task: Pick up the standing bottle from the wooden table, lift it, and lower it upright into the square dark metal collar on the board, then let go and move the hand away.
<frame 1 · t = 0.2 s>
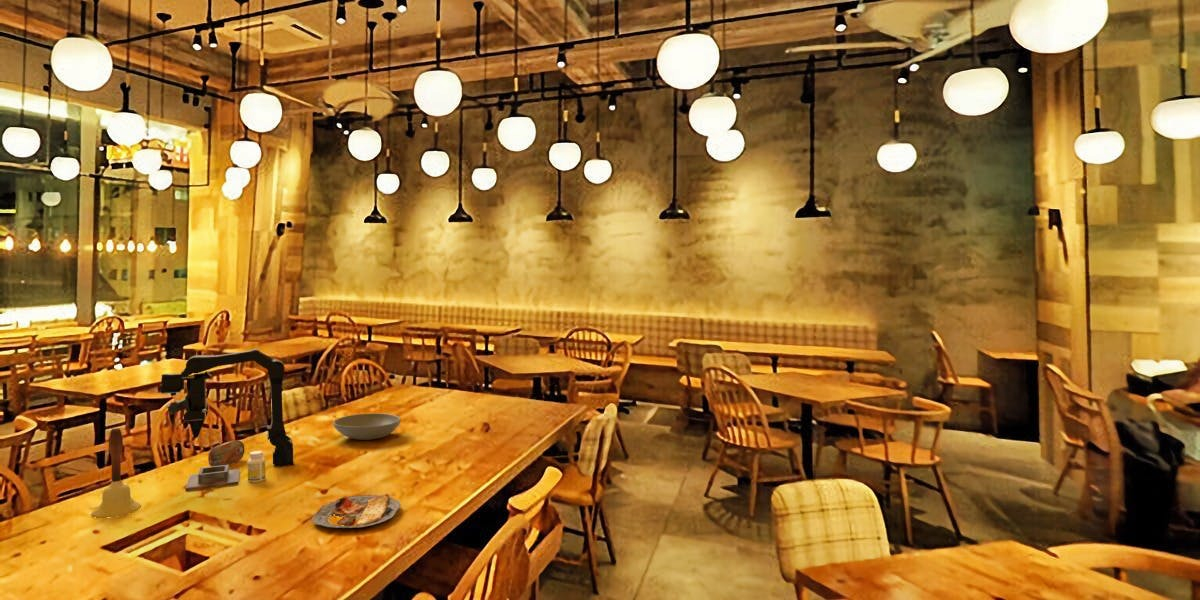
hand: (197, 434, 220), 14 cm above the table, tool pointing down, fingers open, 9 cm apart
collar socket board: (213, 481, 214), on the table
bowl: (367, 438, 273), on the table
supplement bottle: (256, 480, 216), on the table
handbell: (116, 511, 187), on the table
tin: (226, 465, 232), on the table
food plate: (358, 517, 186), on the table
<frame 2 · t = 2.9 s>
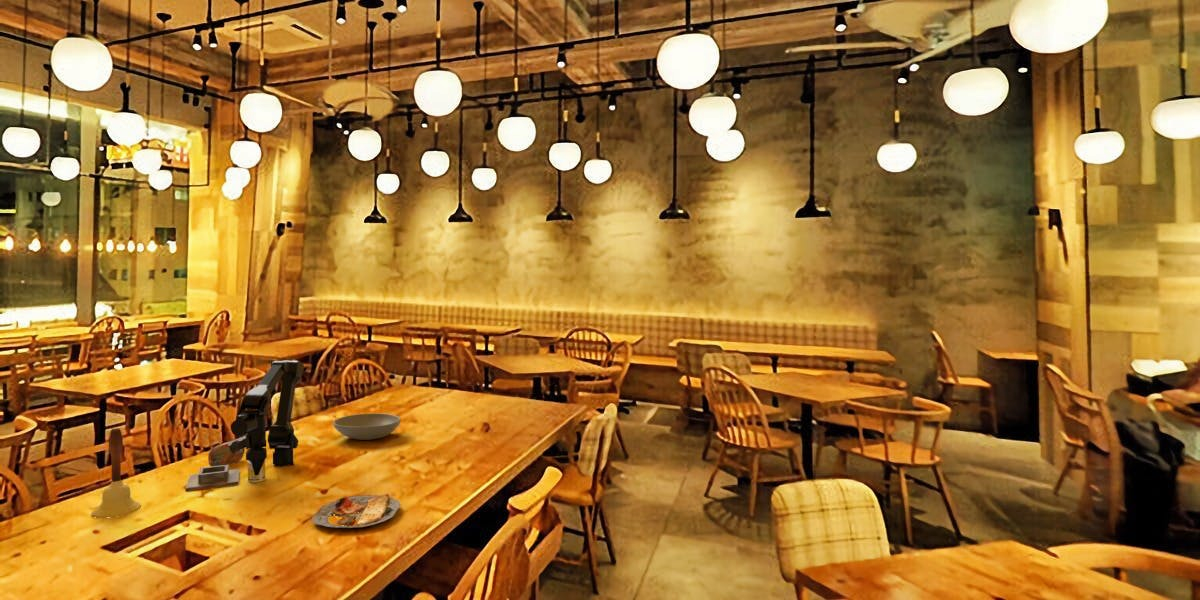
hand: (256, 472, 216), 3 cm above the table, tool pointing down, fingers closed on supplement bottle, 5 cm apart
supplement bottle: (256, 480, 216), on the table, touching gripper
everything else where it was.
when the fingers open (5 cm above the table, at t = 8.4 s): supplement bottle drops 1 cm, resting on collar socket board.
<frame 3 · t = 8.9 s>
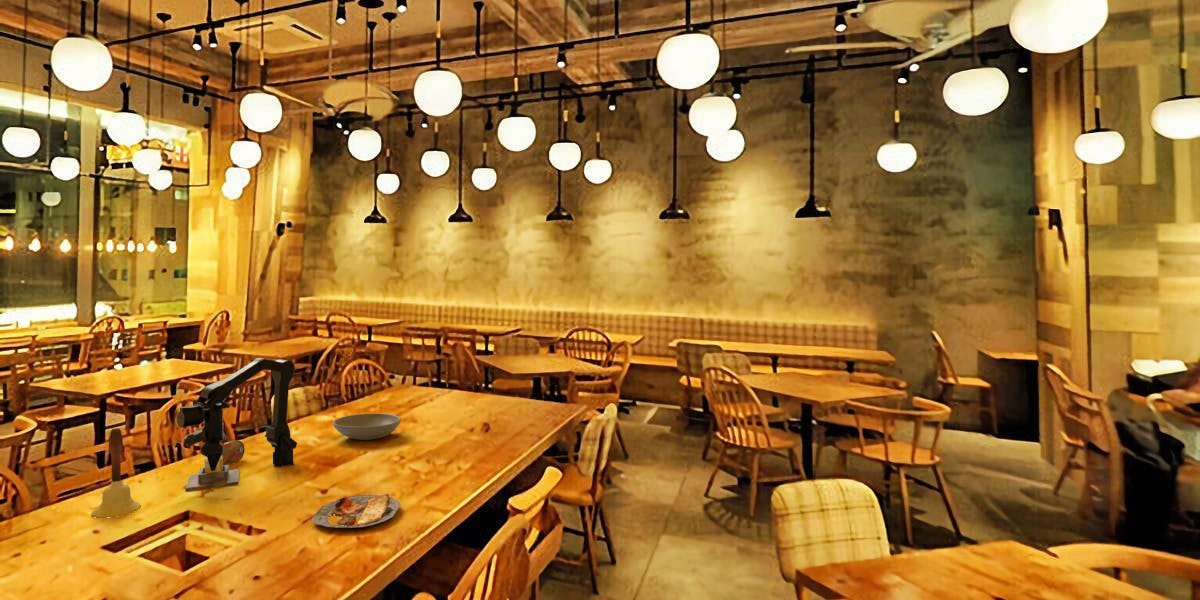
hand: (213, 466, 214), 5 cm above the table, tool pointing down, fingers open, 9 cm apart
supplement bottle: (214, 478, 214), point 1 cm above the table, touching collar socket board
everything else where it was.
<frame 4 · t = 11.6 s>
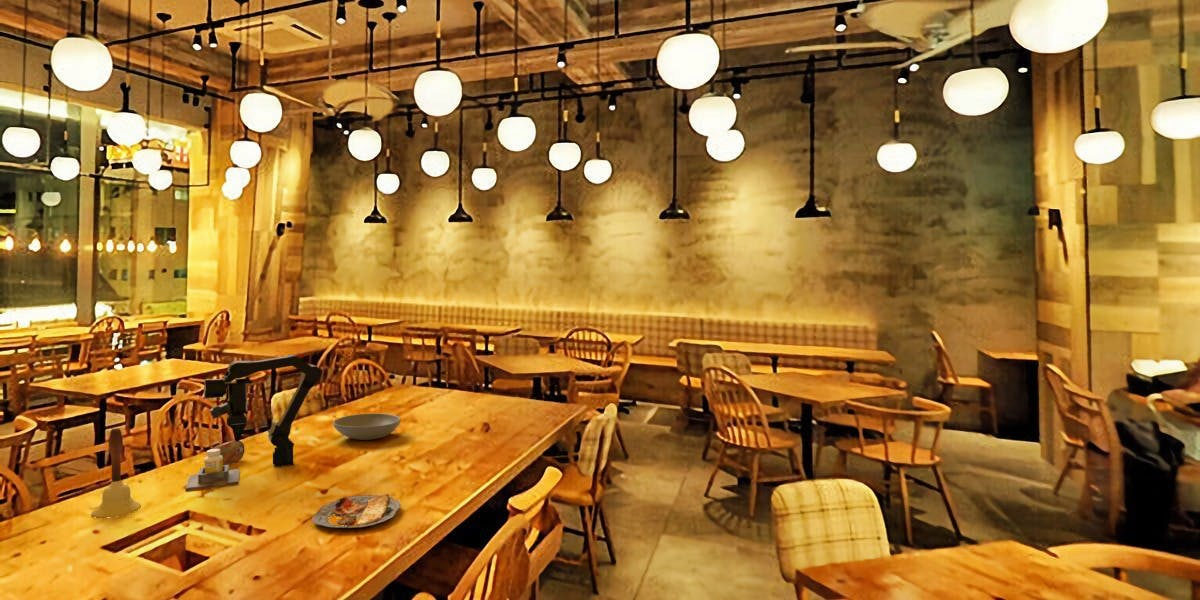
hand: (237, 438, 225), 12 cm above the table, tool pointing down, fingers open, 9 cm apart
nothing on the table moved.
at the end: supplement bottle 0.1 cm off-centre on the collar socket board, point 0.8 cm above the collar socket board's base; supplement bottle tilted 0°; the gripper is holding nothing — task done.
